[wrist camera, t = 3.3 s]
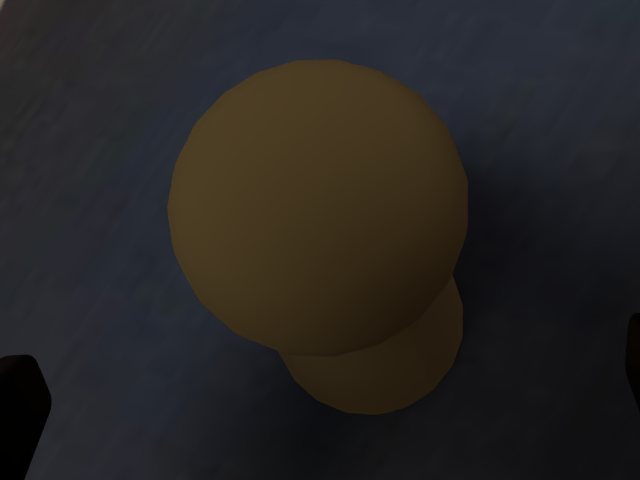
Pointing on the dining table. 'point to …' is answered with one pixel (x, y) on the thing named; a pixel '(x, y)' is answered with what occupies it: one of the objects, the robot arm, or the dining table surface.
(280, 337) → the pepper shaker
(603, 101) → the dining table surface
